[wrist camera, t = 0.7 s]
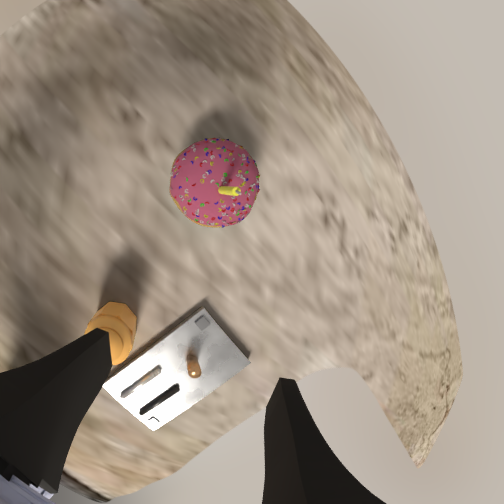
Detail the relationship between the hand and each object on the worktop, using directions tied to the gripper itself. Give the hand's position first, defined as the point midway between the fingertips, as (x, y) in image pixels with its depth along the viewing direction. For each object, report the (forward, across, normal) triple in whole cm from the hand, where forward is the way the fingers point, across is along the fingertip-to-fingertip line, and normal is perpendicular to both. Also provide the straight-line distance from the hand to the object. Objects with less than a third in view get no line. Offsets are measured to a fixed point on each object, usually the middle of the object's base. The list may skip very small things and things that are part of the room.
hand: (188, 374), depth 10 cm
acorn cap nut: (+14, +11, +11) cm, 21 cm away
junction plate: (+15, +4, +17) cm, 23 cm away
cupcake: (+22, +4, -3) cm, 23 cm away
